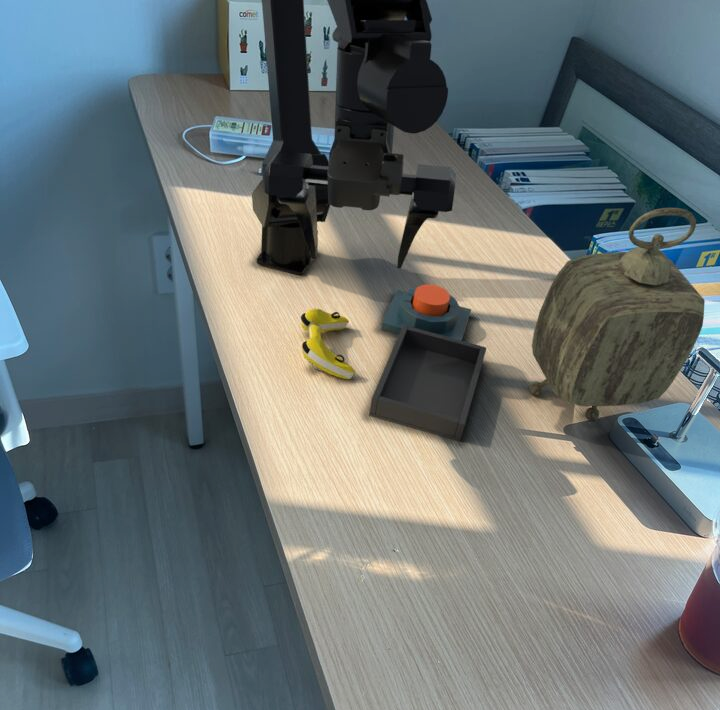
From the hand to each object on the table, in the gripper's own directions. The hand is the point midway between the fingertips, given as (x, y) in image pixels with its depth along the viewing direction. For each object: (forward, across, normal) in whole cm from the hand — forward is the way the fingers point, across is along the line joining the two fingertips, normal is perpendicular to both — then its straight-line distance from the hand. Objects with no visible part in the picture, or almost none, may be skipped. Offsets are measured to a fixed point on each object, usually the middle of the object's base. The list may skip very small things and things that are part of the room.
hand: (356, 262), depth 81 cm
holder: (+14, +9, -2) cm, 17 cm away
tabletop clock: (+15, +28, 0) cm, 32 cm away
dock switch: (+12, +8, +11) cm, 18 cm away
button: (+9, +9, +10) cm, 16 cm away
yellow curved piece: (+12, -3, +1) cm, 13 cm away
